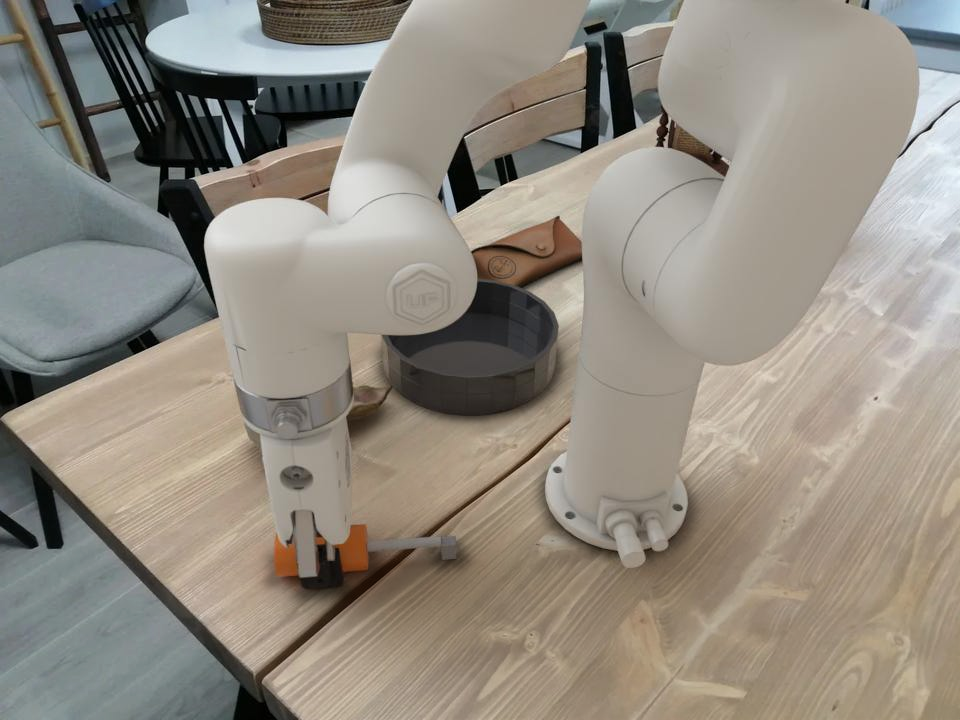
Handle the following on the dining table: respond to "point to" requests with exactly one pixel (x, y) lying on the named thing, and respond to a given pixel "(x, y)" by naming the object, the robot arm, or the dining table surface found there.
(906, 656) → the dining table surface
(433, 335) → the bowl
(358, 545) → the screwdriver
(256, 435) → the ceramic sculpture
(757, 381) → the dining table surface
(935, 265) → the dining table surface
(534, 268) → the sunglasses case
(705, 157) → the manuscript holder
